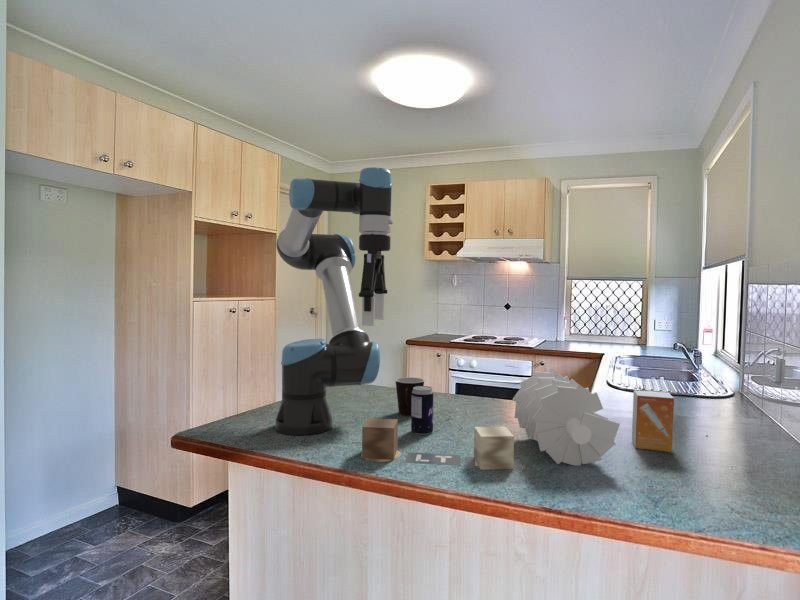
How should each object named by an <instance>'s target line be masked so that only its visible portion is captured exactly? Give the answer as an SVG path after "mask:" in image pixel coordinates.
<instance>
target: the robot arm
mask: <svg viewBox="0 0 800 600" xmlns="http://www.w3.org/2000/svg"><path fill="white" fill-rule="evenodd" d="M392 187H393V184H392V173H391V171H390V170H389V169H387V168H384V167H373V166H372V167H365V168H362V169H361V170H360V171H359V179H358V182H354V181H353V182H351V181H339V180H337V181H336V180H324V179H316V178H315V179H314V178H313V179H312V178H309V177H306V178H294V179H292V180H291V181H290V185H289V197H288V198H289V205H290V208H291V211H290V214H289V216H288V219H287V222H286V225H285V227H284V229H282V230H281V232H280V233H279V234H278V237H277V240H276V250H277V253H278V255H279V256H280V258H281V259H282V260H283V262H284V263H286V264H287V265H289V266H290V267H292V268H294V269H297V270H303V271H304V270H305V271H315V275H316V276H317V278H318V279H320V280H321V281H322V287H323V292H324V298H325V302H326V303H325V304H326V307H327V314H328V319H329V323H330V328H331V329H330V331H331V335H332V337H331V338H330V339H329V341H328V343H327V341H326V340H325V339H324V338H310V339H303V340H298V341H297V340H296V341H293V342H290V343H288V344H286V345H285V346H284V347H283V349H282V350H281V351H282V354H281V361H280V362H281V363H280V365H281V402H280V405H279V408H278V411H277V415H276V417H275V421H274V423H275V424H274V426H275V431H276V432H278V433H281V434H285V435H290V436H307V435H315V434H319V433H324V432H327V431H329V430H330V429H331V428H332V427H333V415H332V412H331V410H330V405H329V404H328V401H327V388H329V387H330V388H331V387H332V388H333V387H344V386H346V387H347V386H361V385H366V384H367V385H368V384H372V383H374V382H375V381H376V379H377V377H378V374H379V370H380V366H381V365H380V364H381V352H380V346H379V344H378V342H375V341H370V337H369V334H368V333H367V332H366V331H364V330H362V326H363V327H364V326H367V327H371V326H372V327H374V326H375V320H378V321H379V320H385V294H386V295H387V294H388V289H387V288H386V275H385V272H386V271H385V256H384V254H382V252H389V251H390V250H391V236H390V235H388V234H390V233H391V225H393V224H394V221H393V220H391V219H392V218H391V215H392V213H391V212H392V211H391V210H392ZM323 212H338V213H339V212H340V213H351V214H355V215H359V219H358V221H359V222H358V224H359V226H358V232H359V233H361V234H360V235H359V237H358V249H359V250H360V251H363V252H364V251H366V252H367V253H364V255H363V266H362V267H363V268H362V276H361V283H360V291H359V292H358V297H359V298H361V299H362V304H361V321H360V317H359V314H358V313H359V312H358V309H357V304H356V300H355V296H354V291H353V287H352V283H351V279H350V274H351V272H352V270H353V269H354V267H355V264H356V254H355V253H356V250H355V245H354V243H353V241H352V239H351V238H350V237H349V236H347V235H342V234H338V233H336V234H335V233H334V234H324V233H323V234H322V233H321V234H320V233H313V232H314V231H315V228H316V226H317V224H318V222H319V220H320V218H321V215H322V214H323Z"/></svg>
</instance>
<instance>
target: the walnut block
mask: <svg viewBox="0 0 800 600" xmlns="http://www.w3.org/2000/svg"><path fill="white" fill-rule="evenodd" d="M398 425H399V419H397V418H396V419H395V418H372V417H368V418H367V419H366V421H365V422H364V423H363V425H362V429H361V439H362V440H361V442H362V443H361V446H362V447H361V452H362V457H361V459H364V458H368V459H388V460H392V461H394V457H395V455H396V452H397V450H398V446H399V445H398V442H399V441H398V439H399V438H398V437H399V434H398V431H399V429H398V427H399V426H398Z"/></svg>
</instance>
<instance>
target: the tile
mask: <svg viewBox="0 0 800 600" xmlns="http://www.w3.org/2000/svg"><path fill="white" fill-rule="evenodd" d="M461 456H462V455H461V454H449V453H448V454H443V453H425V452H409V451H408V452H407V455H406V456H405V457H406V458H405V461H404V463H405V464H407V463H408V464H409V463H410V464H425V465H443V466H444V465H445V466H448V465H449V466H459V467H460V466H461V461H462V460H461Z"/></svg>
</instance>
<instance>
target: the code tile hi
mask: <svg viewBox="0 0 800 600" xmlns="http://www.w3.org/2000/svg"><path fill="white" fill-rule="evenodd" d="M464 460H465V461H464V462H465V463H464V466H465V467H464V468H469V469H470V468H471V469H480V468H479V466H478V464H477V462H476V461H475V459H474V456H465V457H464ZM502 470H504V471H507V470H509V471H522V472H523V471H524V468H523V466H522V463H521V460H520V459H516V458H514V469H502Z"/></svg>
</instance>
